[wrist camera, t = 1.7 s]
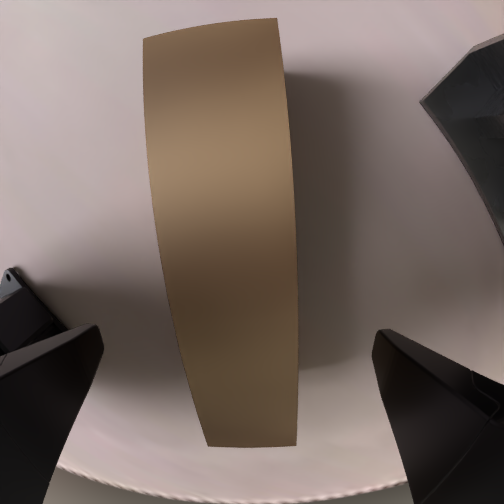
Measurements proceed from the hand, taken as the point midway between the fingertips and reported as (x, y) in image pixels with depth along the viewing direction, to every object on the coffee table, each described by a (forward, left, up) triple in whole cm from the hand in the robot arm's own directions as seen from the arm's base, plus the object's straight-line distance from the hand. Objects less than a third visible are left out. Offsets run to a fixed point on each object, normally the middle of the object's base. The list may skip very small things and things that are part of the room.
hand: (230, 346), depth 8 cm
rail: (+2, +1, -5) cm, 5 cm away
